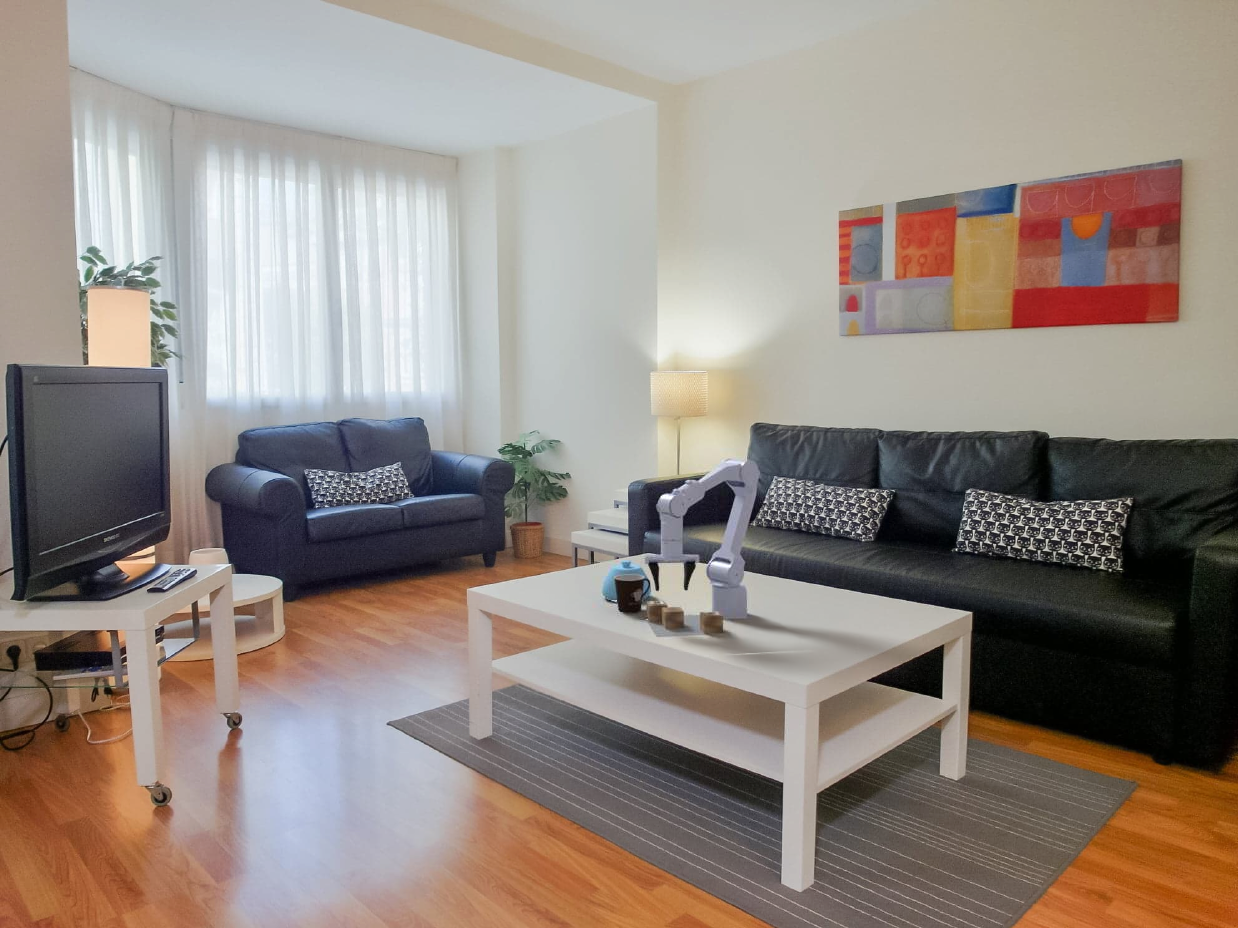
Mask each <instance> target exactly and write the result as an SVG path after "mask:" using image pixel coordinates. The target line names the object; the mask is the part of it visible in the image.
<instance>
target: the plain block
mask: <svg viewBox="0 0 1238 928" xmlns="http://www.w3.org/2000/svg"><path fill="white" fill-rule="evenodd" d="M684 615H685V611H684V609H682V607H681V606H668V607H664V608H662V625H663V626H664V628H665V629H674V628H684Z"/></svg>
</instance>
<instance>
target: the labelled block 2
mask: <svg viewBox="0 0 1238 928" xmlns="http://www.w3.org/2000/svg"><path fill="white" fill-rule="evenodd" d="M699 615H700V630H701V631H702V632H703V633H704V634H710V635H716V634H715V633H723V631H724V619H723V615H722V614H721V613H720V612H719V611H714V612H709V611H700V612H699Z"/></svg>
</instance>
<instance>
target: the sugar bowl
mask: <svg viewBox="0 0 1238 928" xmlns="http://www.w3.org/2000/svg"><path fill="white" fill-rule="evenodd" d="M625 574H635V575H641V576H644V578H646V579H649V577H648V576H647V574H646V572H645V571H644V569H643V567H642V566H640V565H639V564H633V563H632V560H627V559H625V560H621V564H616V565H612V566H611V568H610V569H609V571H608V572H607V574H606V576H605V578H604V579H603V584H602V588H601V594H602V596H604V598H605V597H606V598H608V599H610V600H617V595H616V587H615V579H614V577H615V576H618V575H625ZM651 586H652V585H650V588H649V590H648V592H647V593H646V594H645V595H644V596H643V598H642V600H644V599H646V598H647V599H648V598H649V596H650V595H651V594H652V587H651ZM647 588H648V581H646V580H645V581H644V587H643V593H644V592H645V591H646V590H647ZM606 598H605V599H606ZM647 599H646V600H647ZM644 601H645V600H644Z"/></svg>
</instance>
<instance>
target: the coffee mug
mask: <svg viewBox="0 0 1238 928" xmlns="http://www.w3.org/2000/svg"><path fill="white" fill-rule="evenodd" d="M614 579H615V587H616V595H617V602H616V603H617V610H619V611H620V612H619V611H618V612H619V613H621V612H623V613H622V614H636V613H637V612H638V613H640V612H641V611H642V604H643V601H642V598H643V596H644V595H645V594H646V593H647V592H648V590H649V588H650V586H651V580H650V579H649V578H648V579H646V578H644V576H641V575H635V574H625V575H618V576H615V577H614ZM645 580H646V581H648V588H647V590H646V591H645V592H644V593H643V587H644V581H645ZM639 611H640V612H639ZM638 613H637V614H638Z"/></svg>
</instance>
